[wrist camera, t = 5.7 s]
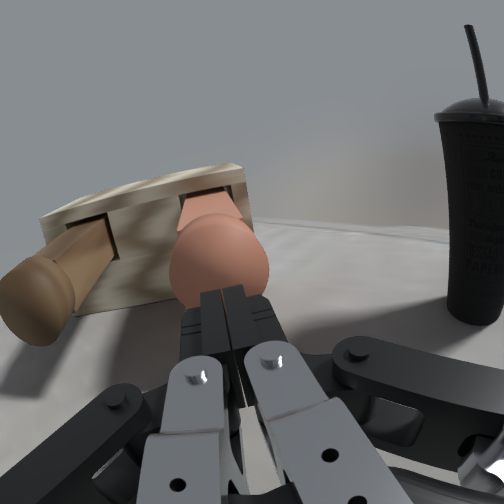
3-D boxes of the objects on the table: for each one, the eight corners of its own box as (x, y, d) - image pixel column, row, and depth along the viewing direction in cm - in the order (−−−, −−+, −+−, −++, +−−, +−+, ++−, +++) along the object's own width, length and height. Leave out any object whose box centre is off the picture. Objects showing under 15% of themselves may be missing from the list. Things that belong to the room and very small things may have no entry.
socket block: (73, 316, 26) (38, 218, 22) (103, 271, 37) (82, 196, 33) (261, 280, 28) (243, 167, 24) (243, 241, 39) (229, 162, 35)
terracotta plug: (183, 325, 14) (157, 237, 12) (189, 233, 29) (180, 188, 28) (274, 306, 15) (261, 215, 13) (235, 224, 30) (227, 179, 28)
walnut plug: (17, 348, 13) (-15, 280, 11) (91, 255, 28) (79, 213, 27) (73, 342, 13) (40, 265, 12) (130, 246, 29) (118, 203, 27)
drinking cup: (484, 353, 13) (485, -4, 6) (410, 303, 20) (393, 23, 13) (529, 308, 15) (532, 37, 8) (465, 274, 22) (456, 45, 15)
